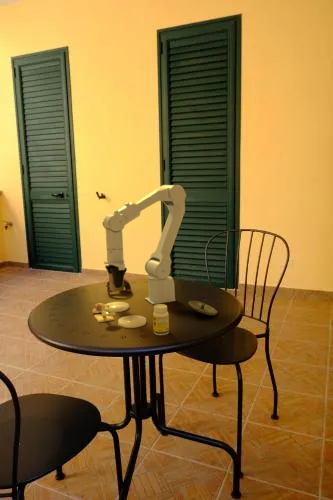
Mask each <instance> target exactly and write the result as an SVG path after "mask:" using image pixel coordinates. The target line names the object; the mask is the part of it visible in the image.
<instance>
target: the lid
mask: <svg viewBox="0 0 333 500" xmlns="http://www.w3.org/2000/svg"><path fill="white" fill-rule="evenodd" d="M207 301H208V299H203V301H198V300H189V301H188V302H187V303H188V305H189V306H190V307H191V308H192V309H194V310H195V311H196V312H199V313H200V314H204V315H207V316H216V315H217V314H218V310H216V309H215V308H214V307H212V306H211V305H209V304H207Z"/></svg>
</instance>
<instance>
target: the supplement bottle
mask: <svg viewBox="0 0 333 500" xmlns="http://www.w3.org/2000/svg"><path fill="white" fill-rule="evenodd" d="M169 316H170V315H169V312H168V306H167V305H166V304H165V303H159V304H154V306H153V312H152V324H153V325H152V327H153V328H152V329H153V333H154V335H156V336H165V335H168V334H169V332H170V323H169V321H170V317H169Z"/></svg>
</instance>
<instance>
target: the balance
mask: <svg viewBox="0 0 333 500" xmlns="http://www.w3.org/2000/svg"><path fill="white" fill-rule="evenodd" d="M106 304H107V303H101V302H98V303H96V304H94V308H93V309H92V313H93V314H94V318H95V320H96V321H97V322H98V323H104V322H110V321H114V320H115V319H114V317H113V316H114V315H117V312H116V311H114V310H109V307H110V305H106ZM105 307H107V308H108V310H106V311H105Z"/></svg>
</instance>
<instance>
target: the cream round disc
mask: <svg viewBox="0 0 333 500" xmlns="http://www.w3.org/2000/svg"><path fill="white" fill-rule="evenodd" d="M117 321H118V322H117V324H118V326H120V327H121V328H126V329H135V328H141V327H143V326H145V325H146V324H147V318H146V317H145V316H143V315H138V314H137V315H135V314H133V315H126V316H122V317H120V318H119V319H117Z"/></svg>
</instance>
